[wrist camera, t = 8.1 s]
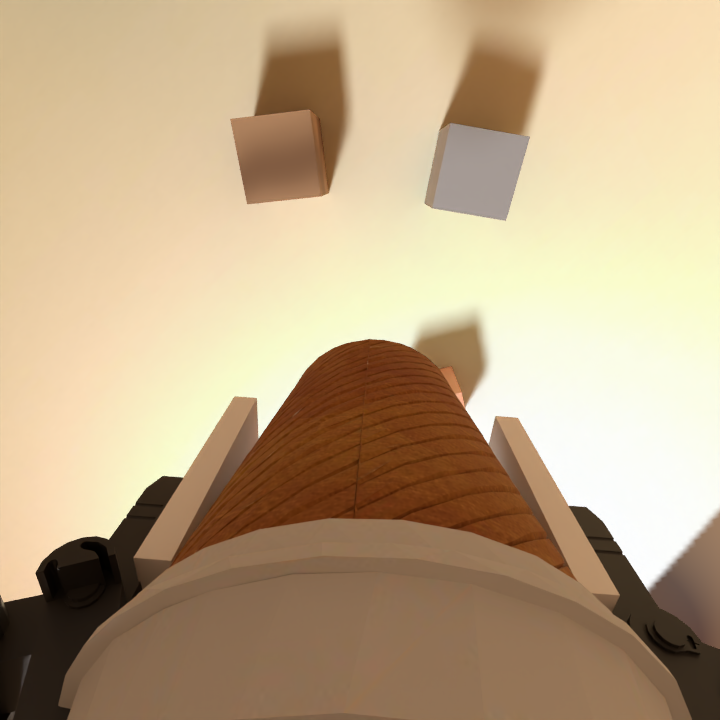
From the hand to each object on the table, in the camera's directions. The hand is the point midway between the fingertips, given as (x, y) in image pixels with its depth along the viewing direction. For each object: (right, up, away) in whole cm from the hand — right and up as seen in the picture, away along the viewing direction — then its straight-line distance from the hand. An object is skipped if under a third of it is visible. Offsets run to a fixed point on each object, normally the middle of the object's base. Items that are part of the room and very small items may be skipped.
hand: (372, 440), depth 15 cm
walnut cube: (-6, +18, +17) cm, 25 cm away
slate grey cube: (+7, +17, +17) cm, 25 cm away
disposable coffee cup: (0, +1, +2) cm, 2 cm away
